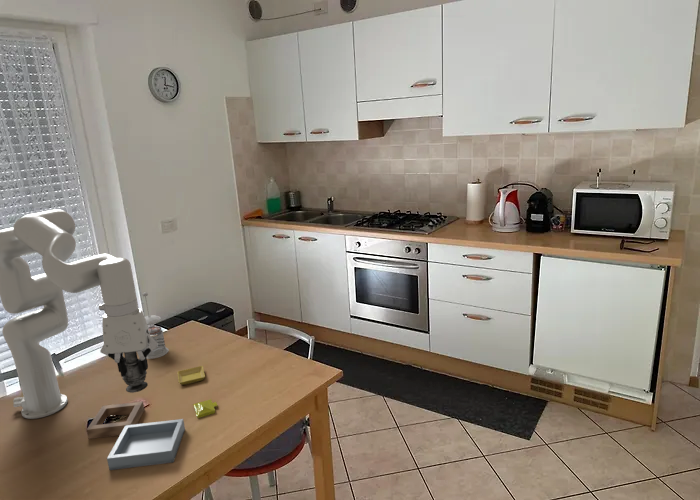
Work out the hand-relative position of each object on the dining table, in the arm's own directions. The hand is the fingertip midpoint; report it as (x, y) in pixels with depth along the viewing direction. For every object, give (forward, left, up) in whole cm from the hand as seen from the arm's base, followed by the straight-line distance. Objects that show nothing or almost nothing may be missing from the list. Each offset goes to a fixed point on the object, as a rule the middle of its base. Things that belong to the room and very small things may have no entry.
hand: (134, 372), depth 125 cm
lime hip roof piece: (+12, +16, -24) cm, 32 cm away
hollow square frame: (-13, +14, -23) cm, 30 cm away
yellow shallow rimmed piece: (+4, +37, -24) cm, 44 cm away
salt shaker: (0, 0, -5) cm, 5 cm away
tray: (0, 0, -23) cm, 23 cm away
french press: (-15, +60, -23) cm, 66 cm away
